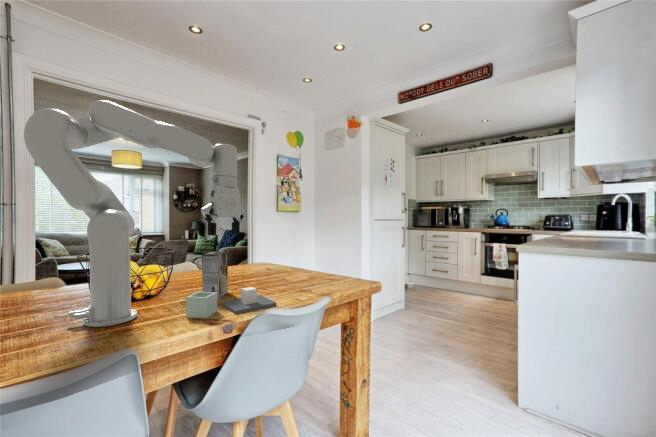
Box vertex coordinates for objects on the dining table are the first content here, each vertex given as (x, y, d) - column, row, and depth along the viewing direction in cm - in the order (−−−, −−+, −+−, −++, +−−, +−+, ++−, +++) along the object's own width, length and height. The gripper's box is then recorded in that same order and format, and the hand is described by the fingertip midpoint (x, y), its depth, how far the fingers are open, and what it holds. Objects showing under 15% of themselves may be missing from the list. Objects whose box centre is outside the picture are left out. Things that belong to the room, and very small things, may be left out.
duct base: (235, 314, 92) (235, 296, 92) (221, 304, 102) (221, 288, 102) (276, 305, 101) (276, 289, 101) (260, 297, 111) (260, 282, 110)
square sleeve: (206, 318, 89) (206, 297, 89) (186, 317, 90) (185, 297, 89) (217, 311, 95) (217, 292, 95) (198, 310, 96) (197, 291, 96)
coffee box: (212, 292, 118) (211, 251, 118) (228, 292, 118) (228, 251, 118) (201, 298, 109) (201, 254, 109) (219, 299, 109) (219, 254, 109)
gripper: (210, 179, 91) (209, 236, 91) (252, 184, 106) (251, 234, 106) (194, 180, 94) (193, 235, 95) (236, 185, 109) (236, 233, 109)
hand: (224, 234), depth 100 cm, fingers open, 9 cm apart
